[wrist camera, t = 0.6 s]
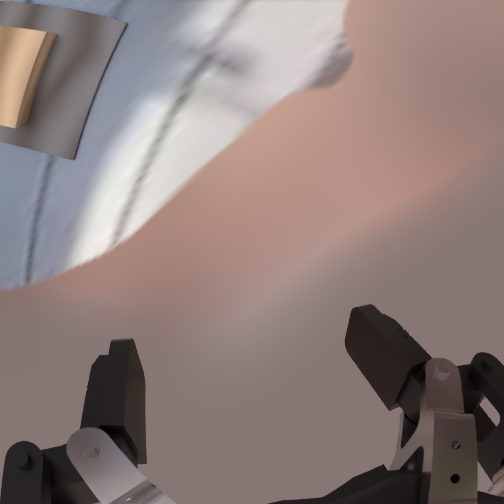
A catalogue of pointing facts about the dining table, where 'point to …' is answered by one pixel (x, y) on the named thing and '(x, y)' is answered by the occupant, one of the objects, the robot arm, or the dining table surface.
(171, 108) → the dining table surface
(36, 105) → the plinth
